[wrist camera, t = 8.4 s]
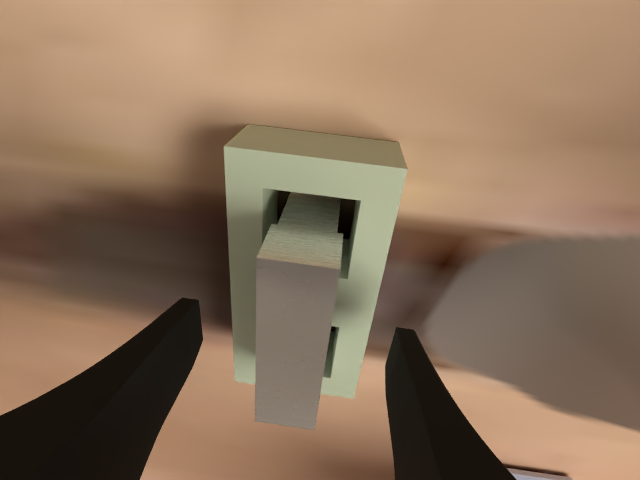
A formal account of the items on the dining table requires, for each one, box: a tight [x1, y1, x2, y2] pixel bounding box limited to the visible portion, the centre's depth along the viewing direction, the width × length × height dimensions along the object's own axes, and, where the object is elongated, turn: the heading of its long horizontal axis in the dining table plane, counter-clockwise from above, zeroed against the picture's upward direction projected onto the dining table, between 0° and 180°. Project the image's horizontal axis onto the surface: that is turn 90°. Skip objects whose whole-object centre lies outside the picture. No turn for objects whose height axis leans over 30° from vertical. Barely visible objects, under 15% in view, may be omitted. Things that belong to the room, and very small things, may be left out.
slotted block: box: [224, 124, 408, 399], centre depth 16 cm, size 6×12×3 cm, turn 175°
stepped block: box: [255, 192, 343, 430], centre depth 15 cm, size 2×8×6 cm, turn 174°
